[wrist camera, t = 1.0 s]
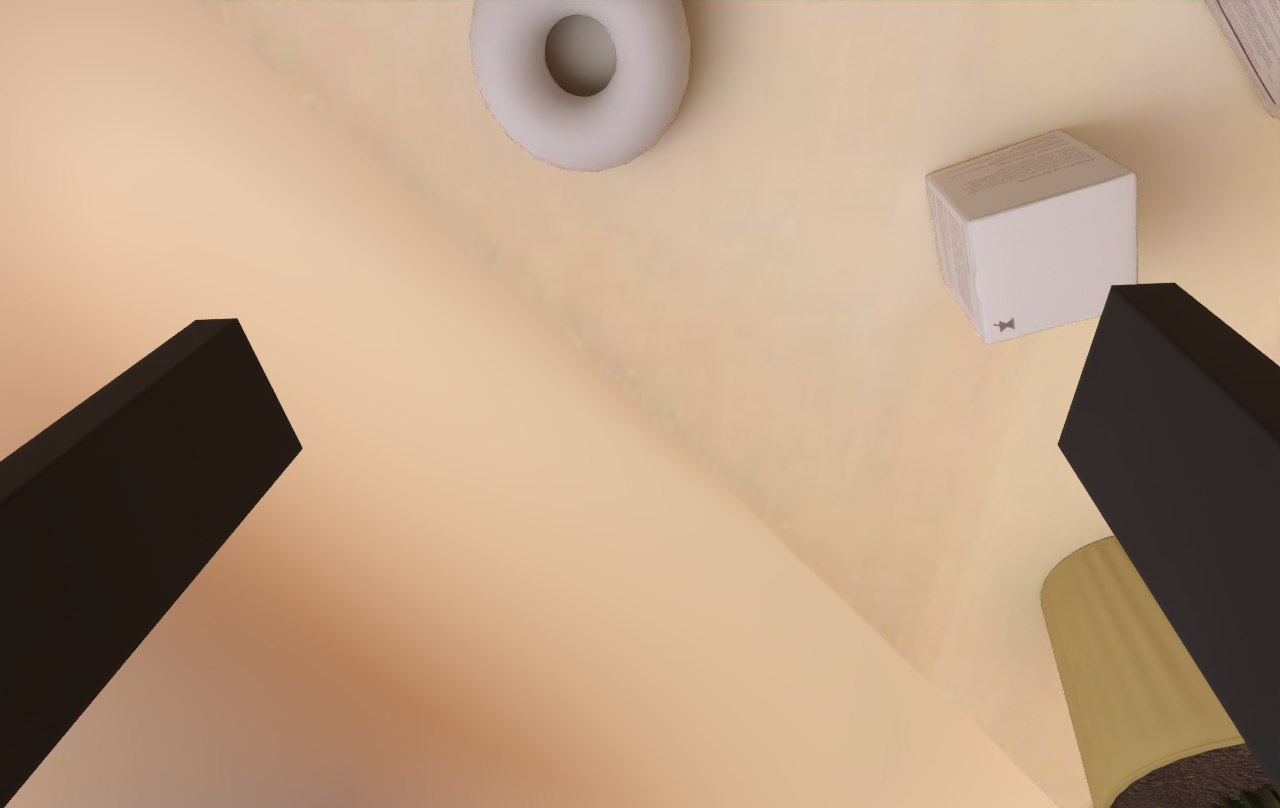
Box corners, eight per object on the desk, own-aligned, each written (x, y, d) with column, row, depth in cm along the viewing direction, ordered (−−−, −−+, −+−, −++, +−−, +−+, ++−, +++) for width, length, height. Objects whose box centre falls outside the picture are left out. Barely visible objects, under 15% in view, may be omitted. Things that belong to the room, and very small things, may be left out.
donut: (716, -53, 28) (486, -103, 28) (715, -52, 25) (460, -109, 25) (669, 179, 34) (478, 138, 34) (664, 201, 31) (456, 156, 31)
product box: (1068, 246, 33) (1141, 311, 27) (940, 282, 35) (982, 350, 29) (1061, 125, 30) (1141, 168, 24) (922, 171, 32) (964, 222, 26)
